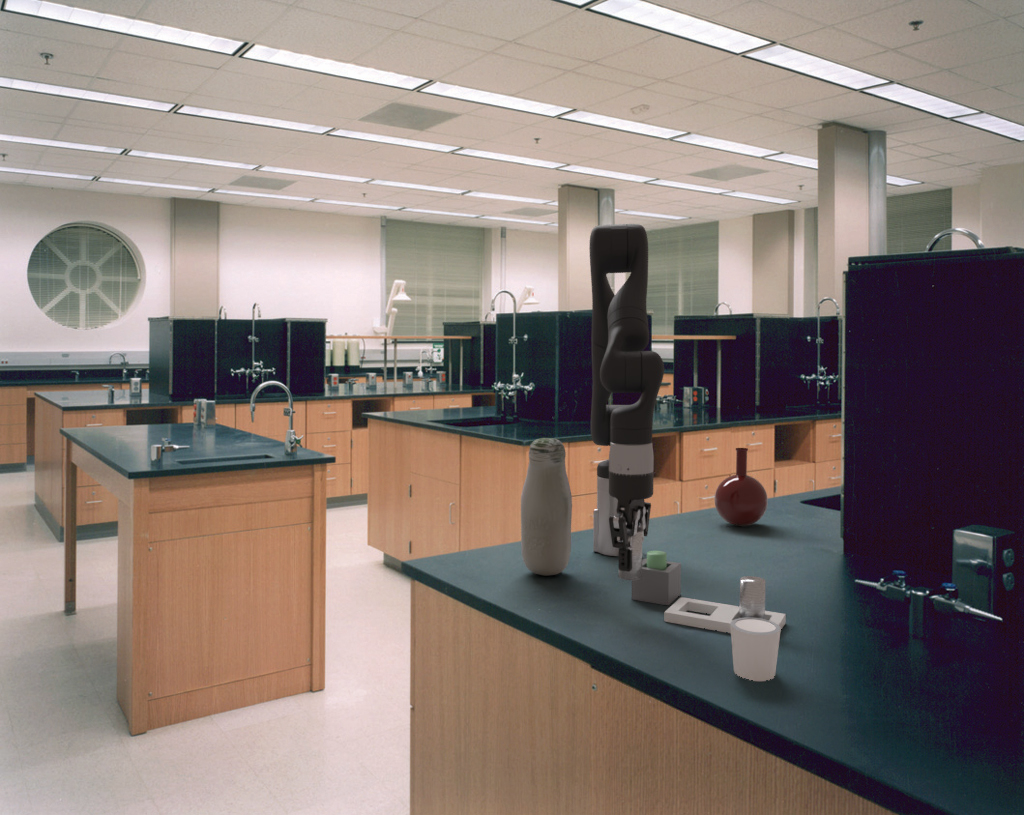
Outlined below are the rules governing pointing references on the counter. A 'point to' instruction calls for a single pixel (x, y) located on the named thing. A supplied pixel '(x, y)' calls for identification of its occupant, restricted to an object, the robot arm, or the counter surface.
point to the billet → (634, 559)
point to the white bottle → (546, 509)
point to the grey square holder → (658, 584)
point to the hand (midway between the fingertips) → (630, 566)
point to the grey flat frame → (718, 611)
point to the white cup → (755, 648)
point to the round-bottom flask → (741, 495)
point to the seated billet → (752, 597)
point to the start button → (657, 560)
